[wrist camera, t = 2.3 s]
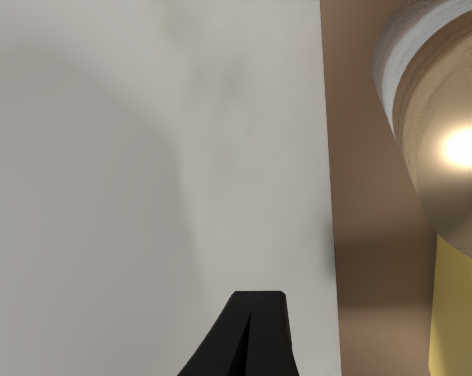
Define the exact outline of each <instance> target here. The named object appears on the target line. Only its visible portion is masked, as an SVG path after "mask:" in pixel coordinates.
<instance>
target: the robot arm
mask: <svg viewBox="0 0 472 376" xmlns="http://www.w3.org/2000/svg"><path fill="white" fill-rule="evenodd" d="M177 376H299V373H298V370H297V367H296V363H295V360H294V356H293V352H292V341H291V333H290V326H289V318H288V310H287V302H286V294H284V293H283V292H282V291H235V292H234V293H233V294H232V295H231V297H230V298H229V300H228V302H227V304H226V305H225V307H224V309H223V310H222V312H221V314H220V315H219V317H218V319H217V320H216V322H215V323H214V325H213V326H212V328H211V330H210V331H209V333H208V334H207V336H206V337H205V339H204V340H203V341H202V343H201V344H200V346H199V347H198V349H197V350H196V352H195V353H194V354H193V356H192V357H191V358H190V360H189V361H188V362H187V364H186V365H185V366H184V367H183V369H182V370H181V371H180V373H179V374H178V375H177Z"/></svg>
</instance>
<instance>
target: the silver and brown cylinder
mask: <svg viewBox="0 0 472 376" xmlns="http://www.w3.org/2000/svg"><path fill="white" fill-rule="evenodd" d="M372 76H373V81H374V85H375V87H376V90H377V93H378V96H379V98H380V101H381V103H382V106H383V108H384V111H385V114H386V116H387V119H388V121H389V124H390V126H391V129H392V132H393V134H394V137H395V139H396V142H397V144H398V147H399V150H400V152H401V155H402V157H403V160H404V162H405V165H406V168H407V170H408V173H409V175H410V178H411V180H412V183H413V186H414V188H415V191H416V193H417V196H418V198H419V201H420V204H421V206H422V209H423V211H424V213H425V215H426V217H427V219H428V221H429V223H430V224H431V225H432V227H433V228H434V229H435V231H436V232H437V233H438V234H439V235H440V236H441V237H442V238H443V239H444V240H445V241H446V242H447V243H448V244H449V245H451V246H452V247H454V248H455V249H456V250H458V251H459V252H461V253H463V254H465V255H466V256H468V257H470V258H472V0H406V1H405V2H404V3H402V4H401V5H400V6H399V7H398V8H397V9H396V10H395V11H394V13H393V14H392V15H391V16H390V17H389V19H388V20H387V22H386V23H385V25H384V26H383V28H382V30H381V32H380V34H379V36H378V38H377V41H376V44H375V47H374V52H373V57H372Z"/></svg>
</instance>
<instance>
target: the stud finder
mask: <svg viewBox="0 0 472 376" xmlns="http://www.w3.org/2000/svg"><path fill="white" fill-rule="evenodd" d="M428 367H429V370H430V374H431V376H472V258H470V257H468V256H466V255H465V254H463V253H461V252H459V251H458V250H456V249H455V248H454V247H452V246H451V245H449V244H448V243H447V242H446V241H445V240H444V239H443V238H442V237H441V236H440V235H439V234H438V233H437V248H436V262H435V277H434V291H433V305H432V320H431V334H430V348H429V363H428Z"/></svg>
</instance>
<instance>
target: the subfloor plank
mask: <svg viewBox="0 0 472 376" xmlns="http://www.w3.org/2000/svg"><path fill="white" fill-rule="evenodd" d="M405 1H406V0H320V10H321V27H322V45H323V62H324V79H325V96H326V113H327V130H328V147H329V164H330V182H331V199H332V216H333V233H334V250H335V267H336V284H337V302H338V319H339V336H340V353H341V370H342V376H431V374H430V370H429V367H428V363H429V348H430V334H431V320H432V305H433V291H434V277H435V262H436V248H437V232H436V231H435V229H434V228H433V227H432V225H431V224H430V223H429V221H428V219H427V217H426V215H425V213H424V211H423V209H422V206H421V204H420V201H419V198H418V196H417V193H416V191H415V188H414V186H413V183H412V180H411V178H410V175H409V173H408V170H407V168H406V165H405V162H404V160H403V157H402V155H401V152H400V150H399V147H398V144H397V142H396V139H395V137H394V134H393V132H392V129H391V126H390V124H389V121H388V119H387V116H386V114H385V111H384V108H383V106H382V103H381V101H380V98H379V96H378V93H377V90H376V87H375V85H374V81H373V76H372V57H373V52H374V47H375V44H376V41H377V38H378V36H379V34H380V32H381V30H382V28H383V26H384V25H385V23H386V22H387V20H388V19H389V17H390V16H391V15H392V14H393V13H394V11H395V10H396V9H397V8H398V7H399V6H400V5H401V4H402V3H404V2H405Z"/></svg>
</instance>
